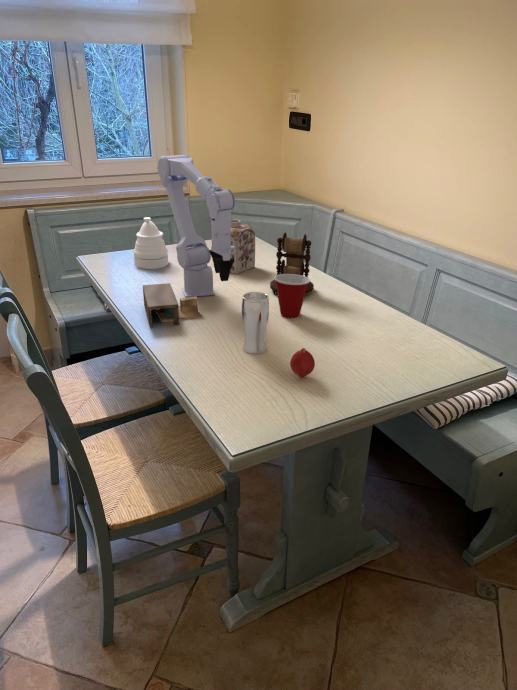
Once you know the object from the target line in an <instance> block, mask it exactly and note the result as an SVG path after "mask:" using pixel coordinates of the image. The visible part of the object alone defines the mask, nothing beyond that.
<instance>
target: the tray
mask: <svg viewBox="0 0 517 690" xmlns="http://www.w3.org/2000/svg"><path fill="white" fill-rule="evenodd" d="M198 303H199V302H198V296H195V297H181V298H179V307H178V311H179V321H181V320H183V321H184V320H189V319H195V318H201V317H202V313H201V312H200V311H199V306H198V305H199V304H198ZM154 313H156V315H157V316H158V318H159V320H160V321H161V323H168V322H173V308H163V309H154Z"/></svg>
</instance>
